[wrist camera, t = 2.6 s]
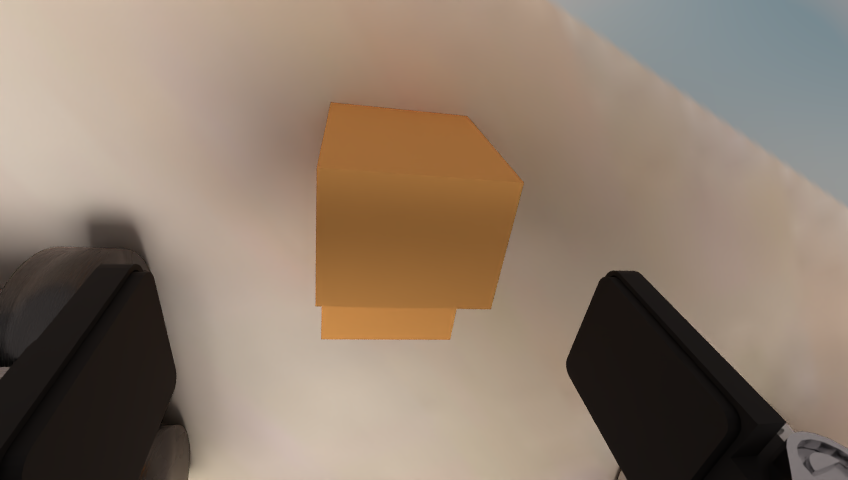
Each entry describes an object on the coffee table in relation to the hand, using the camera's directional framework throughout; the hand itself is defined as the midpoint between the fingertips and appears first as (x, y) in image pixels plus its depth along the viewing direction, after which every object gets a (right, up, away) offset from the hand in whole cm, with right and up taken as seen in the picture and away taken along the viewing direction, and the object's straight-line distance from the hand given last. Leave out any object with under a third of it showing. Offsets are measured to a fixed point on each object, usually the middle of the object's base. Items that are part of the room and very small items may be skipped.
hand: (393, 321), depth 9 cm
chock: (-1, +3, +8) cm, 9 cm away
